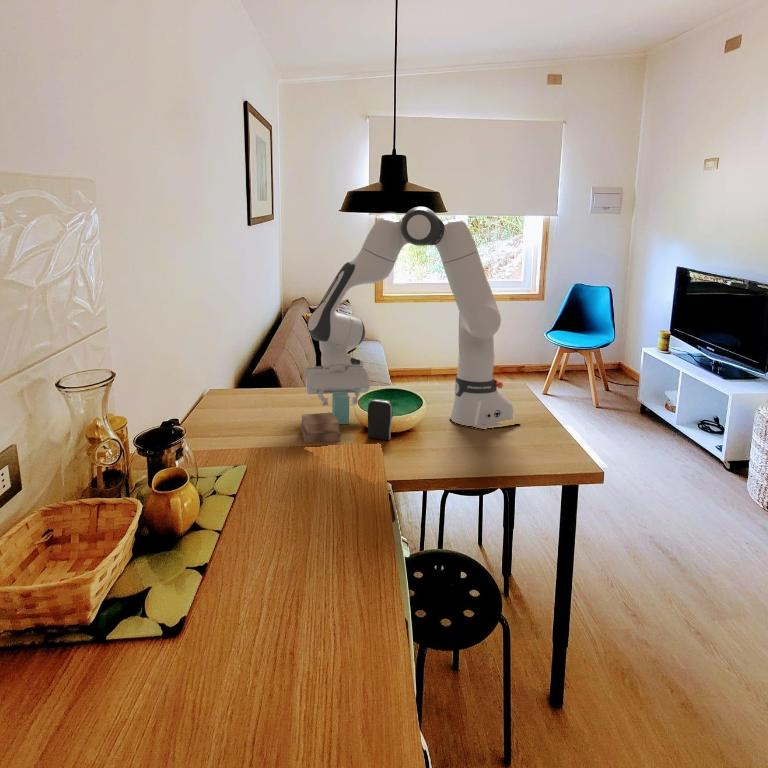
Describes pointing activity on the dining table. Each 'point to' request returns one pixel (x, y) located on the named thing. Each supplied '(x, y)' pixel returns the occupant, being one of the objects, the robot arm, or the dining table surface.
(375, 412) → the battery
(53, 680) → the dining table surface
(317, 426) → the tower top
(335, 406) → the teal post
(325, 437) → the tower base
